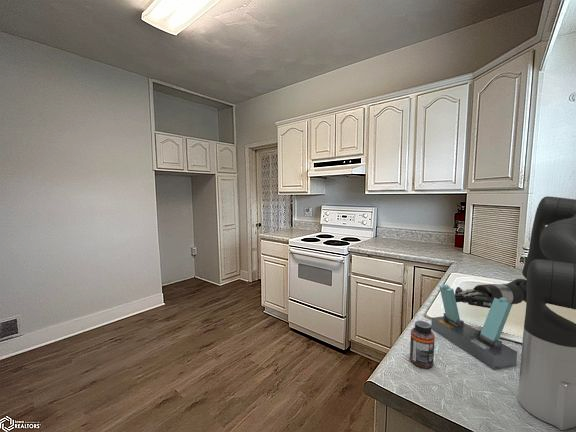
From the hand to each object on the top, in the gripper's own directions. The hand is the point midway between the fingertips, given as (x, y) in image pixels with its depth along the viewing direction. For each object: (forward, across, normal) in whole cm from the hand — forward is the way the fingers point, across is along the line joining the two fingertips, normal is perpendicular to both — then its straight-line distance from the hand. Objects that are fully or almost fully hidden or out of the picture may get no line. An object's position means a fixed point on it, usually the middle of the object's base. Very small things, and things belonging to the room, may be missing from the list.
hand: (451, 298), depth 86 cm
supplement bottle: (+19, +10, +13) cm, 26 cm away
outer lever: (-2, 0, +8) cm, 8 cm away
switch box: (-2, +6, +13) cm, 14 cm away
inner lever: (-2, +12, +8) cm, 14 cm away
